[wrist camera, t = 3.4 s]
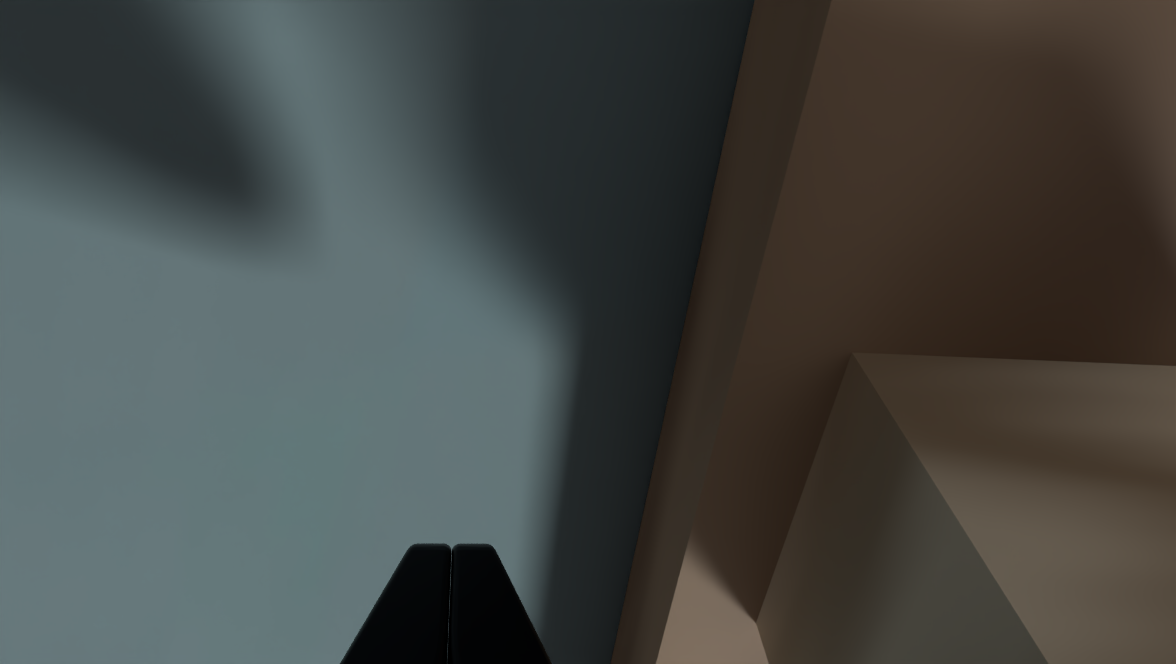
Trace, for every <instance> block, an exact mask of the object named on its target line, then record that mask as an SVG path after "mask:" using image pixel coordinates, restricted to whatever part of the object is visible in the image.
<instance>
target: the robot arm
mask: <svg viewBox="0 0 1176 664" xmlns="http://www.w3.org/2000/svg"><path fill="white" fill-rule="evenodd" d="M450 575H451V586H450ZM449 600H450V609H449ZM448 624H449V633H448ZM447 648H448V658H447ZM340 664H552V663H551V661H550V659H549V657H548V655H547V653H546V651H545V649H544V647H543V645H542V643H541V641H540V639H539V637H538V635H537V633H536V631H535V629H534V627H533V625H532V623H531V621H530V619H529V617H528V615H527V612H526V610H525V608H524V606H523V604H522V602H521V600H520V598H519V596H518V594H517V592H516V590H515V588H514V586H513V584H512V582H511V580H510V578H509V576H508V574H507V572H506V570H505V568H504V566H503V564H502V562H501V560H500V558H499V556H498V554H497V552H496V550H495V549H494V548H493V546H491V545H489V544H457V545H455V546H454V547H453V549H452V562H451V548H450V546H449V545H447V544H414V545H412V546H410V548H409V549H408V550H407V551H406V553H405V555H404V556H403V558H402V560H401V561H400V563H399V565H398V566H397V568H396V570H395V572H394V573H393V575H392V577H391V578H390V580H389V582H388V583H387V585H386V587H385V588H384V590H383V592H382V594H381V595H380V597H379V599H378V600H377V602H376V604H375V605H374V607H373V609H372V610H371V612H370V614H369V616H368V617H367V619H366V621H365V622H364V624H363V626H362V627H361V629H360V631H359V632H358V634H357V636H356V637H355V639H354V641H353V643H352V644H351V646H350V648H349V649H348V651H347V653H346V654H345V656H344V658H343V659H342V661H341V663H340Z"/></svg>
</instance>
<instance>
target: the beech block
mask: <svg viewBox="0 0 1176 664" xmlns="http://www.w3.org/2000/svg"><path fill="white" fill-rule="evenodd" d="M756 625H757V628H758V631H759V635H760V638H761V641H762V644H763V647H764V650H765V653H766V657H767V660H768V663H769V664H1176V366H1162V365H1138V364H1115V363H1091V362H1067V361H1043V360H1019V359H995V358H971V357H948V356H924V355H900V354H876V353H852V354H851V357H850V360H849V362H848V365H847V368H846V371H845V374H844V376H843V379H842V382H841V385H840V388H839V391H838V393H837V396H836V399H835V402H834V405H833V407H832V410H831V413H830V416H829V419H828V422H827V424H826V427H825V430H824V433H823V436H822V438H821V441H820V444H819V447H818V450H817V452H816V455H815V458H814V461H813V464H812V467H811V469H810V472H809V475H808V478H807V481H806V483H805V486H804V489H803V492H802V495H801V498H800V500H799V503H798V506H797V509H796V512H795V514H794V517H793V520H792V523H791V526H790V529H789V531H788V534H787V537H786V540H785V543H784V545H783V548H782V551H781V554H780V557H779V560H778V562H777V565H776V568H775V571H774V574H773V576H772V579H771V582H770V585H769V588H768V591H767V593H766V596H765V599H764V602H763V605H762V607H761V610H760V613H759V616H758V619H757V622H756Z"/></svg>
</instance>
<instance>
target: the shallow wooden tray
mask: <svg viewBox="0 0 1176 664" xmlns="http://www.w3.org/2000/svg"><path fill="white" fill-rule="evenodd" d="M852 353H876V354H900V355H924V356H948V357H971V358H995V359H1019V360H1043V361H1067V362H1091V363H1115V364H1138V365H1162V366H1176V0H755V1H754V5H753V10H752V14H751V19H750V24H749V28H748V33H747V38H746V42H745V47H744V51H743V56H742V61H741V65H740V70H739V74H738V79H737V84H736V88H735V93H734V97H733V102H732V107H731V111H730V116H729V120H728V125H727V130H726V134H725V139H724V144H723V148H722V153H721V157H720V162H719V167H718V171H717V176H716V180H715V185H714V190H713V194H712V199H711V203H710V208H709V213H708V217H707V222H706V226H705V231H704V236H703V240H702V245H701V249H700V254H699V259H698V263H697V268H696V273H695V277H694V282H693V286H692V291H691V296H690V300H689V305H688V309H687V314H686V319H685V323H684V328H683V332H682V337H681V342H680V346H679V351H678V355H677V360H676V365H675V369H674V374H673V378H672V383H671V388H670V392H669V397H668V402H667V406H666V411H665V415H664V420H663V425H662V429H661V434H660V438H659V443H658V448H657V452H656V457H655V461H654V466H653V471H652V475H651V480H650V484H649V489H648V494H647V498H646V503H645V507H644V512H643V517H642V521H641V526H640V531H639V535H638V540H637V544H636V549H635V554H634V558H633V563H632V567H631V572H630V577H629V581H628V586H627V590H626V595H625V600H624V604H623V609H622V613H621V618H620V623H619V627H618V632H617V637H616V641H615V646H614V650H613V655H612V660H611V664H769V663H768V660H767V657H766V653H765V650H764V647H763V644H762V641H761V638H760V635H759V631H758V628H757V625H756V622H757V619H758V616H759V613H760V610H761V607H762V605H763V602H764V599H765V596H766V593H767V591H768V588H769V585H770V582H771V579H772V576H773V574H774V571H775V568H776V565H777V562H778V560H779V557H780V554H781V551H782V548H783V545H784V543H785V540H786V537H787V534H788V531H789V529H790V526H791V523H792V520H793V517H794V514H795V512H796V509H797V506H798V503H799V500H800V498H801V495H802V492H803V489H804V486H805V483H806V481H807V478H808V475H809V472H810V469H811V467H812V464H813V461H814V458H815V455H816V452H817V450H818V447H819V444H820V441H821V438H822V436H823V433H824V430H825V427H826V424H827V422H828V419H829V416H830V413H831V410H832V407H833V405H834V402H835V399H836V396H837V393H838V391H839V388H840V385H841V382H842V379H843V376H844V374H845V371H846V368H847V365H848V362H849V360H850V357H851V354H852Z"/></svg>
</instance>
